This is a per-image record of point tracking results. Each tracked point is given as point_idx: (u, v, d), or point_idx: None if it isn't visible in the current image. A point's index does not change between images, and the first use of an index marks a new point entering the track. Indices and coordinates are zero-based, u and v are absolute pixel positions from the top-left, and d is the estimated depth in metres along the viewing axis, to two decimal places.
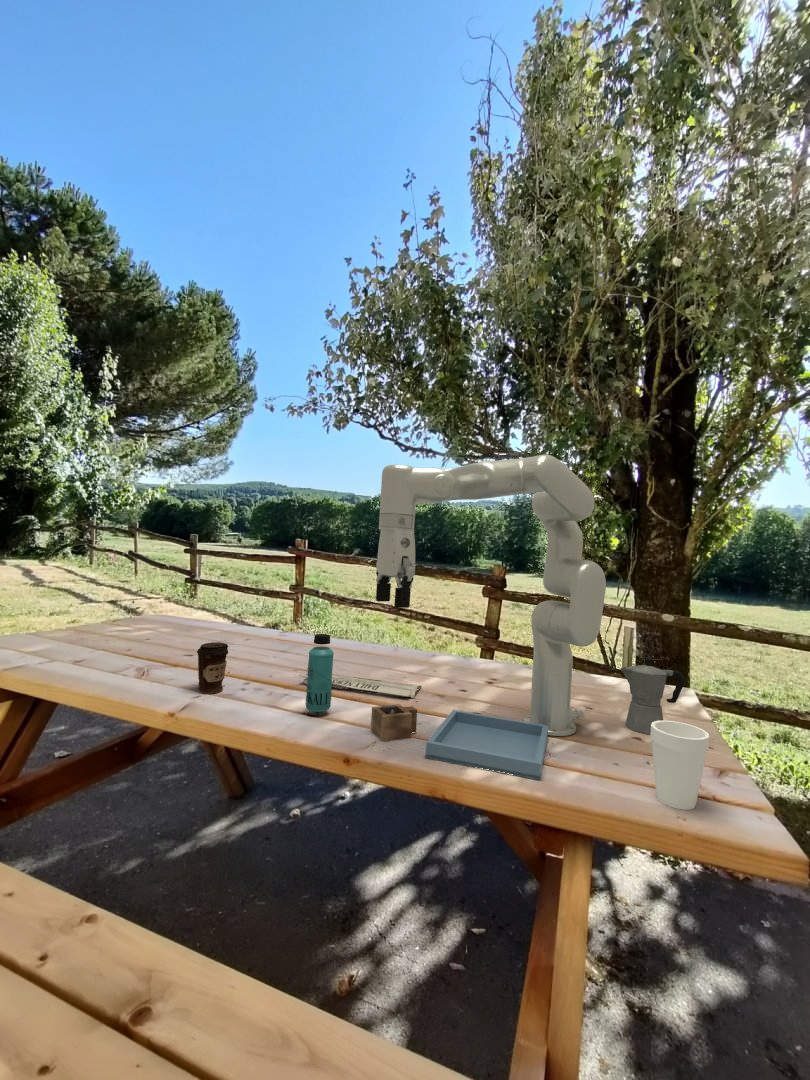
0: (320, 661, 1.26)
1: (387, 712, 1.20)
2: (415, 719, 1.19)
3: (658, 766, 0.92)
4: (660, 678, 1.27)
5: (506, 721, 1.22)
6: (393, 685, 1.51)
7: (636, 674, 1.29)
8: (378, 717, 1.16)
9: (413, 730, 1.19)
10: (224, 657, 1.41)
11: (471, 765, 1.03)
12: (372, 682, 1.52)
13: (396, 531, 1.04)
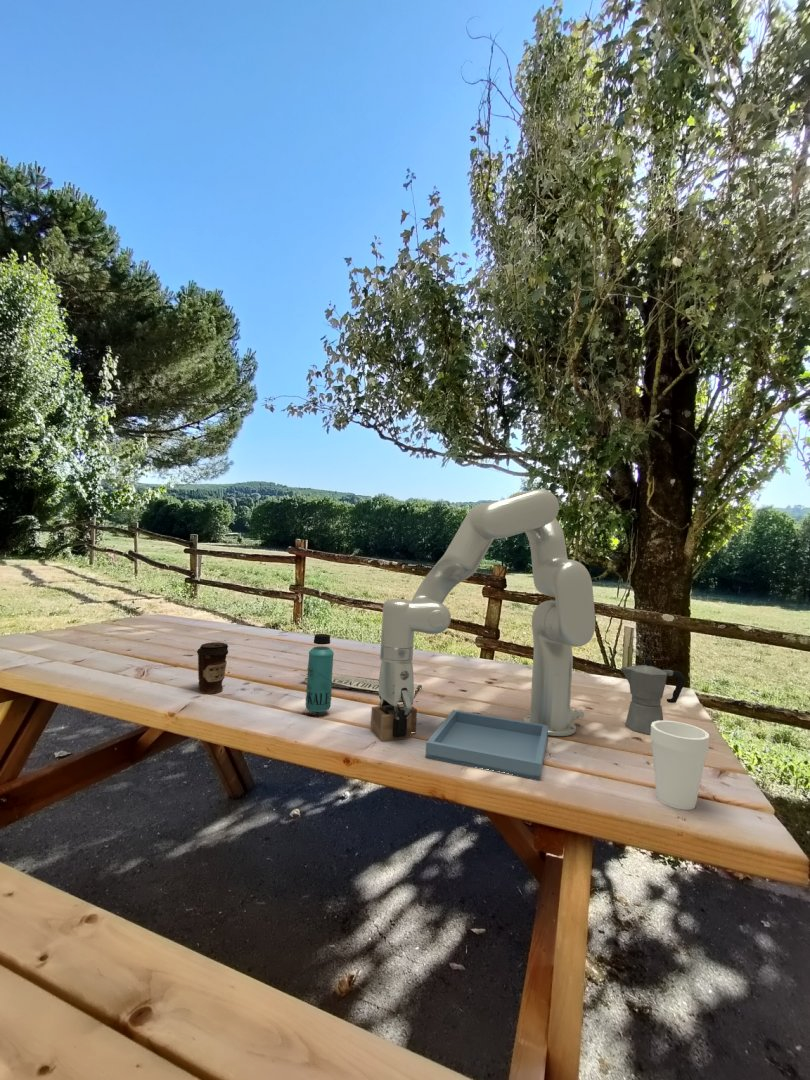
0: (320, 661, 1.26)
1: (387, 712, 1.20)
2: (415, 719, 1.19)
3: (658, 766, 0.92)
4: (660, 678, 1.27)
5: (506, 721, 1.22)
6: None
7: (637, 674, 1.29)
8: (378, 717, 1.16)
9: (413, 730, 1.19)
10: (224, 657, 1.41)
11: (471, 765, 1.03)
12: (372, 681, 1.53)
13: (396, 665, 1.14)
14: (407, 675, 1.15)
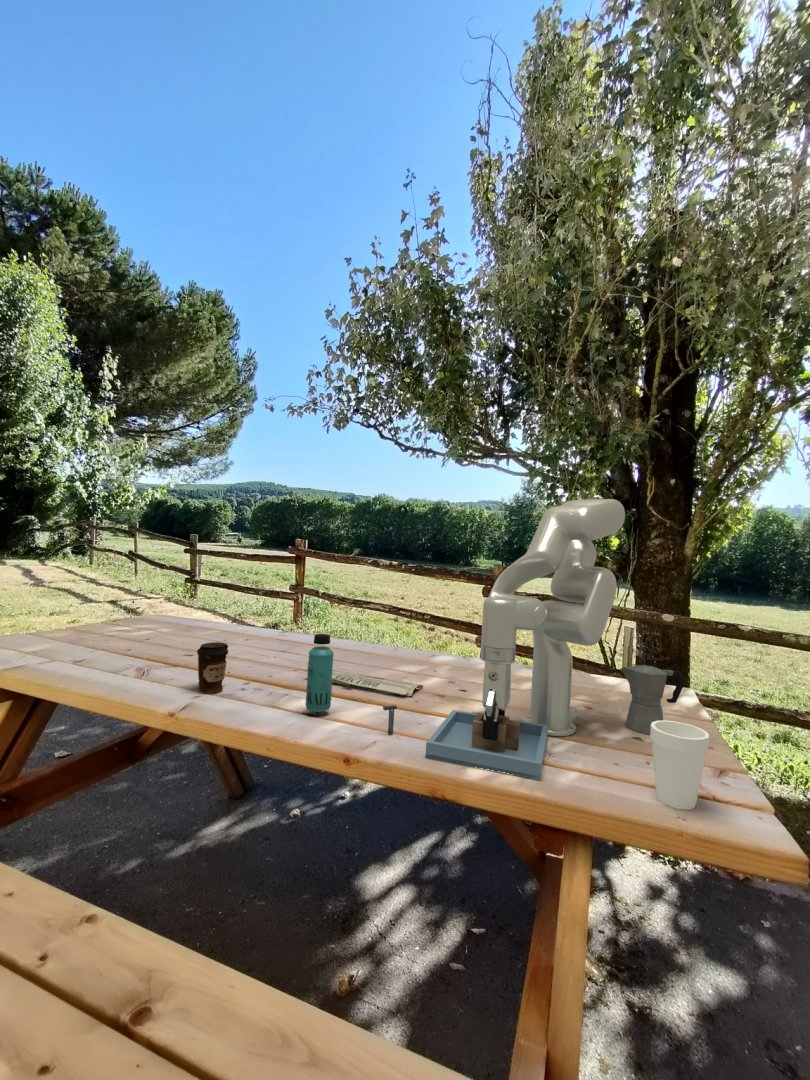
0: (320, 661, 1.26)
1: None
2: (516, 735, 1.10)
3: (658, 766, 0.92)
4: (660, 678, 1.27)
5: None
6: (394, 683, 1.53)
7: (637, 674, 1.29)
8: None
9: (513, 747, 1.10)
10: (224, 657, 1.41)
11: (471, 765, 1.03)
12: (374, 680, 1.55)
13: (486, 664, 1.10)
14: (498, 677, 1.08)
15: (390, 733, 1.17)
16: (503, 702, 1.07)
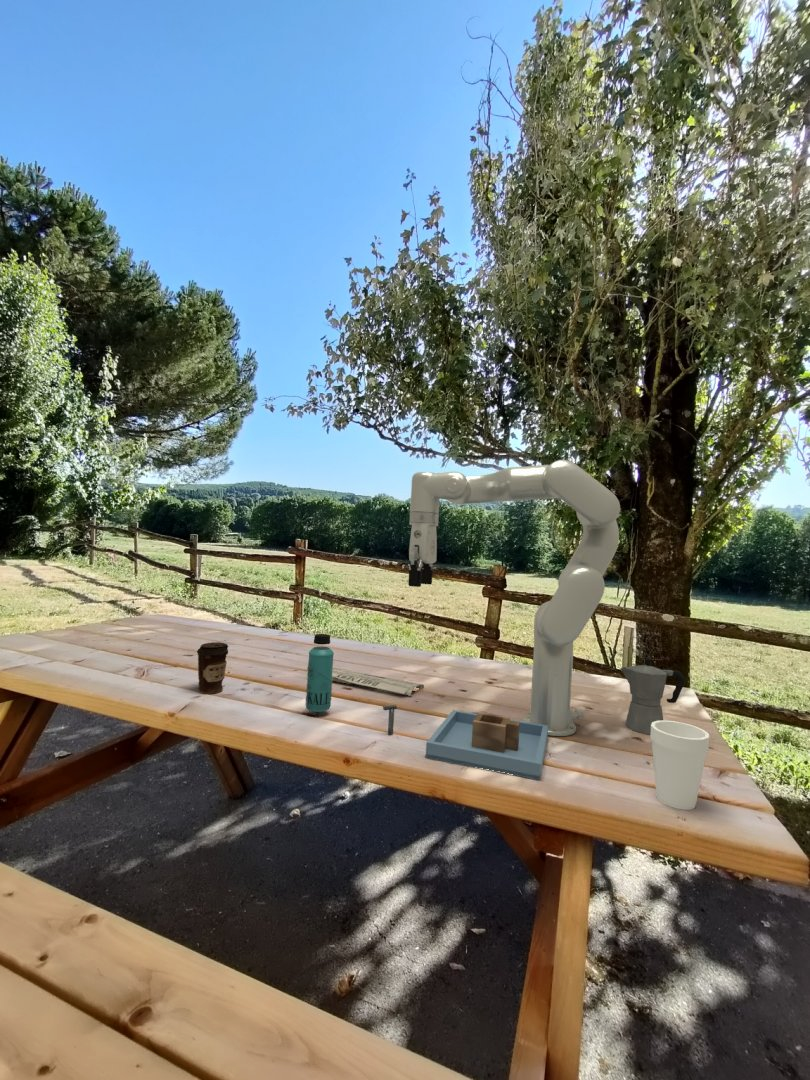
0: (320, 661, 1.26)
1: (493, 721, 1.15)
2: (516, 735, 1.10)
3: (658, 766, 0.92)
4: (660, 678, 1.27)
5: None
6: (394, 682, 1.53)
7: (636, 674, 1.29)
8: None
9: (513, 747, 1.10)
10: (224, 657, 1.41)
11: (471, 765, 1.03)
12: (375, 678, 1.56)
13: (412, 525, 1.31)
14: None
15: (390, 733, 1.17)
16: (425, 555, 1.28)
